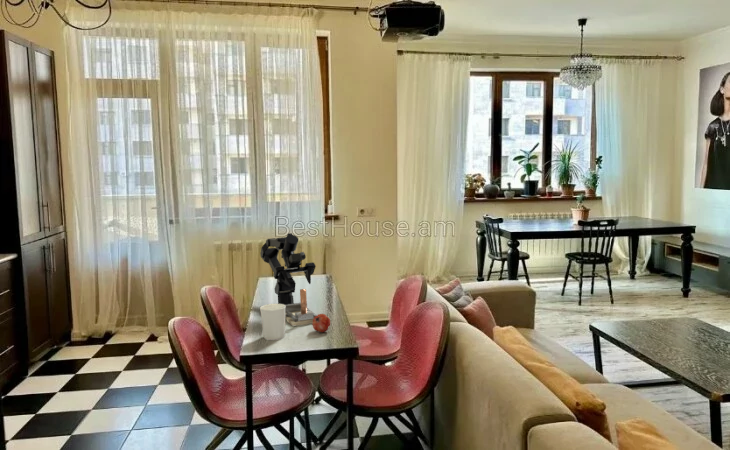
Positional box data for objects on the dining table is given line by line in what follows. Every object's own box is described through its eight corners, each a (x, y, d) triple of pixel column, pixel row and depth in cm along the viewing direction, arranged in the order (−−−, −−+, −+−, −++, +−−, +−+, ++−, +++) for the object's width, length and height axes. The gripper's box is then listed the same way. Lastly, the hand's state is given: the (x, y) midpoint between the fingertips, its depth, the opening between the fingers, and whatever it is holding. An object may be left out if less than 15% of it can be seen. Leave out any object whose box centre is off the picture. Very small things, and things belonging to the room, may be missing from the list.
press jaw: (295, 318, 217) (293, 289, 215) (310, 316, 219) (309, 287, 218) (298, 321, 213) (296, 291, 212) (313, 318, 216) (312, 289, 214)
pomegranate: (318, 333, 208) (303, 323, 201) (327, 317, 210) (312, 307, 204) (330, 339, 203) (315, 329, 196) (339, 322, 205) (325, 312, 198)
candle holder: (265, 342, 192) (264, 311, 191) (258, 335, 201) (256, 305, 199) (290, 338, 197) (289, 307, 195) (282, 331, 205) (281, 302, 204)
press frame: (281, 315, 229) (280, 305, 228) (307, 311, 233) (306, 301, 233) (292, 326, 212) (291, 315, 211) (319, 321, 216) (319, 311, 216)
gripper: (273, 248, 224) (283, 276, 215) (312, 244, 233) (324, 270, 224) (269, 265, 232) (279, 292, 222) (307, 260, 240) (318, 286, 231)
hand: (300, 284), depth 225 cm, fingers open, 9 cm apart
